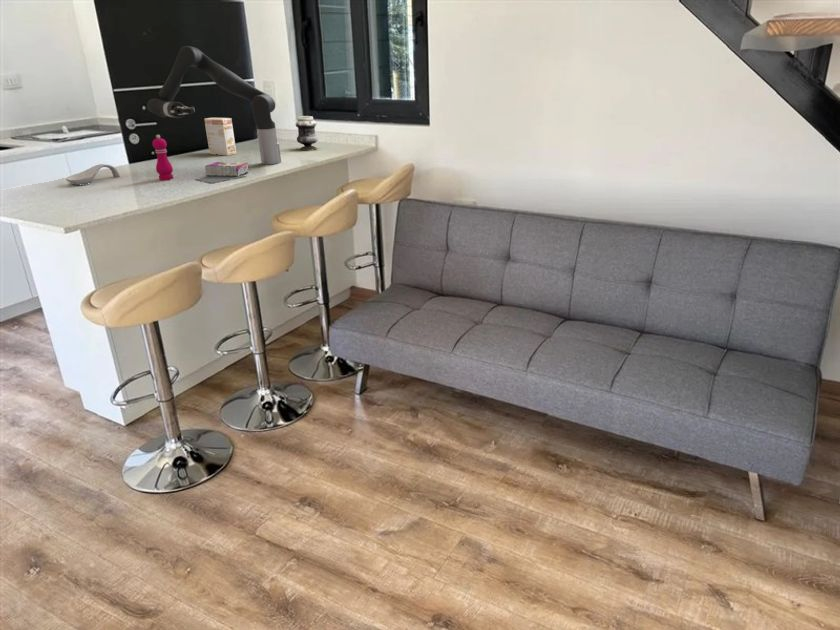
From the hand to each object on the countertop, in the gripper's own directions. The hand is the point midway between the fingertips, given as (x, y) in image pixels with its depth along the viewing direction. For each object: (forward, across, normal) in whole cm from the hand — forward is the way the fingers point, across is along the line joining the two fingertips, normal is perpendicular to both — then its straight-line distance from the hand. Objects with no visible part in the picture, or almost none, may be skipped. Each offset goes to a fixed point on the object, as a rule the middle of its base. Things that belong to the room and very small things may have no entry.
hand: (191, 111), depth 293 cm
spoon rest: (-20, -44, +28) cm, 56 cm away
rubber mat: (+26, -5, +28) cm, 39 cm away
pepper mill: (+5, -21, +28) cm, 36 cm away
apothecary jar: (-8, +72, +28) cm, 78 cm away
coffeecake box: (-37, +34, +28) cm, 58 cm away
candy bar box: (+14, -3, +25) cm, 29 cm away
